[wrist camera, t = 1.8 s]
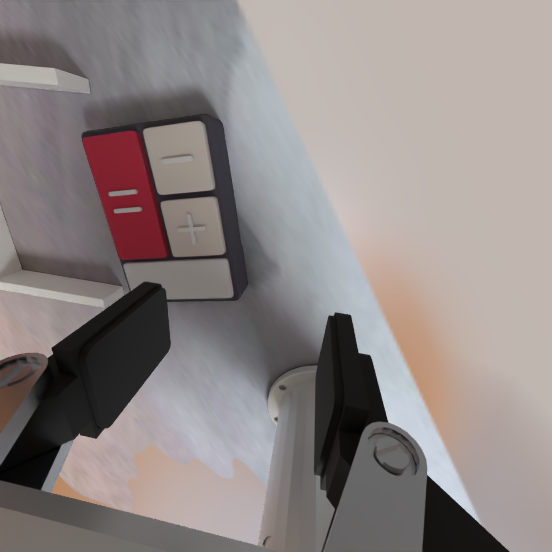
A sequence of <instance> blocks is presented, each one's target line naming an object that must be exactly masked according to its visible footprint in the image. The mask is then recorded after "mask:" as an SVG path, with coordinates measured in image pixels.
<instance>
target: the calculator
mask: <svg viewBox="0 0 552 552" xmlns="http://www.w3.org/2000/svg"><path fill="white" fill-rule="evenodd" d="M82 142H83V146H84V149H85V152H86V155H87V158H88V161H89V165H90V168H91V171H92V174H93V177H94V180H95V183H96V187H97V190H98V193H99V196H100V199H101V202H102V206H103V209H104V212H105V215H106V218H107V221H108V224H109V228H110V231H111V234H112V237H113V240H114V243H115V246H116V250H117V253H118V256H119V258H120V261H121V264H122V267H123V270H124V274H125V277H126V280H127V283H128V286H129V289H130V291H132V290H133V289H134V288H136V287H137V286H139V285H140V284H141V283H143V282H145V281H146V282H153V283H159V284H161V285H162V288H165V290H166V296H167V302H184V301H235V300H238V299H239V298H240V296H241V295H242V293H243V291H244V290H245V288H246V287H247V285H248V279H247V273H246V266H245V260H244V254H243V248H242V245H241V240H240V233H239V226H238V219H237V212H236V206H235V199H234V192H233V185H232V179H231V173H230V166H229V160H228V153H227V147H226V141H225V135H224V128H223V124H222V122H221V121H220V120H218V119H216V118H214V117H212V116H210V115H208V114H200V115H193V116H186V117H180V118H173V119H166V120H160V121H153V122H146V123H140V124H133V125H126V126H120V127H113V128H106V129H100V130H93V131H87V132H83V133H82Z"/></svg>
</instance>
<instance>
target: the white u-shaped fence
mask: <svg viewBox="0 0 552 552" xmlns="http://www.w3.org/2000/svg"><path fill="white" fill-rule="evenodd" d="M0 85H4V86H14V87H24V88H35V89H45V90H55V91H65V92H76V93H86V94H91V92H90V86H89V80H88V79H86V78H83V77H80V76H77V75H74V74H71V73H68V72H65V71H62V70H59V69H56V68H47V67H36V66H25V65H13V64H2V63H0ZM0 290H5V291H11V292H17V293H22V294H28V295H34V296H39V297H45V298H51V299H56V300H62V301H68V302H73V303H79V304H84V305H90V306H96V307H101V308H106V307H107V306H108V305H110V304H111V303H113V302H114V301H115V300H117V299H118V298H120V297H121V296H122V295H124V290H123V286H117V285H111V284H105V283H99V282H93V281H87V280H81V279H75V278H69V277H63V276H57V275H51V274H45V273H39V272H33V271H27V270H22V267H21V264H20V261H19V258H18V255H17V252H16V249H15V247H14V244H13V241H12V238H11V235H10V232H9V229H8V226H7V223H6V220H5V217H4V214H3V211H2V208H1V205H0Z"/></svg>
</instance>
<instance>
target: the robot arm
mask: <svg viewBox="0 0 552 552" xmlns="http://www.w3.org/2000/svg"><path fill="white" fill-rule="evenodd" d="M170 345H171V341H170V330H169V319H168V307H167V296H166V290H165V288H162V285H161V284H159V283H153V282H146V281H145V282H143V283H141V284H140V285H139V286H137V287H136V288H134V289H133V290H132V291H130V292H129V293H127V294H126V295H125V296H123V297H122V298H120V299H119V300H118V301H116V302H115V303H113V304H112V305H111V306H109V307H108V308H106V309H105V310H104V311H102V312H101V313H100V314H98V315H97V316H95V317H94V318H93V319H91V320H90V321H88V322H87V323H86V324H84V325H83V326H81V327H80V328H79V329H77V330H76V331H74V332H73V333H72V334H70V335H69V336H67V337H66V338H65V339H63V340H62V341H60V342H59V343H58V344H56V345H55V346H53V347H52V351H53V355H51V356H50V357H49V358H47V357H46V356H45V355H43V354H39V353H24V354H18V355H15V356H11V357H8V358H5V359H3V360H1V361H0V552H509V551H508V550H507V549H506V548H505V547H504V546H502V544H501V543H500V542H498V541H497V540H496V539H495V538H494V537H493V536H492V535H491V534H490V533H489V532H488V531H487V530H486V529H485V528H484V527H482V526H481V525H480V524H479V523H478V522H477V521H476V520H475V519H474V518H473V517H472V516H471V515H470V514H468V513H467V512H466V511H465V510H464V509H463V508H462V507H461V506H460V505H459V504H458V503H457V502H456V501H455V500H453V499H452V498H451V497H450V496H449V495H448V494H447V493H446V492H445V491H444V490H443V489H442V488H441V487H440V486H438V485H437V484H436V483H435V482H434V481H433V480H432V479H431V478H430V477H429V476H428V475H427V462H426V458H425V456H424V453H423V451H422V449H421V448H420V446H419V445H418V443H417V442H416V441H415V440H414V439H413V438H412V437H411V436H410V435H409V434H408V433H407V432H406V431H404V430H403V429H401V428H399V427H398V426H395V425H393V424H390V423H388V420H387V416H386V412H385V408H384V404H383V401H382V397H381V393H380V389H379V385H378V381H377V377H376V373H375V370H374V366H373V362H372V359H371V356H370V355H367V354H361V353H358V348H357V343H356V338H355V333H354V328H353V323H352V318H351V315H348V314H342V313H335V314H334V316H330V315H329V317H328V320H327V325H326V329H325V334H324V338H323V343H322V348H321V352H320V357H319V361H318V365H313V366H303V367H299V368H295V369H293V370H290V371H288V372H286V373H285V374H283V375H282V376H280V377H279V378H278V379H277V380H276V381H275V382H274V384H273V385H272V387H271V389H270V393H269V396H268V404H267V405H268V412H269V414H270V417H271V419H272V420H273V422H274V423H275V425H276V426H277V427H276V433H275V440H274V446H273V452H272V459H271V465H270V471H269V478H268V484H267V491H266V497H265V503H264V510H263V516H262V522H261V529H260V535H259V541H258V545H254V544H250V543H246V542H242V541H238V540H234V539H230V538H227V537H223V536H219V535H215V534H211V533H207V532H203V531H199V530H196V529H191V528H188V527H184V526H180V525H176V524H172V523H168V522H165V521H160V520H157V519H153V518H149V517H145V516H141V515H137V514H133V513H129V512H125V511H121V510H117V509H113V508H109V507H105V506H101V505H97V504H93V503H89V502H85V501H81V500H77V499H73V498H69V497H65V496H61V495H57V494H53V493H51V492H52V489H53V487H54V485H55V483H56V480H57V478H58V476H59V473H60V471H61V469H62V466H63V464H64V462H65V460H66V457H67V455H68V453H69V450H70V448H71V446H72V443H73V440H74V439H75V438H76V437H77V436H78V434H79V433H80V435H82V436H87V437H91V438H95V439H97V437H98V436H99V435H100V434H101V432H102V431H103V430H104V429H105V428H109V427H110V426H111V425H112V424H113V423H114V421H115V420H116V419H117V417H118V416H119V415H120V414H121V412H122V411H123V410H124V408H125V407H126V406H127V404H128V403H129V402H130V401H131V399H132V398H133V397H134V395H135V394H136V393H137V392H138V390H139V389H140V388H141V386H142V385H143V384H144V382H145V381H146V380H147V379H148V377H149V376H150V375H151V373H152V372H153V371H154V370H155V368H156V367H157V366H158V364H159V363H160V362H161V360H162V359H163V358H164V357H165V355H166V354H167V353H168V351H169V349H170Z"/></svg>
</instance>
